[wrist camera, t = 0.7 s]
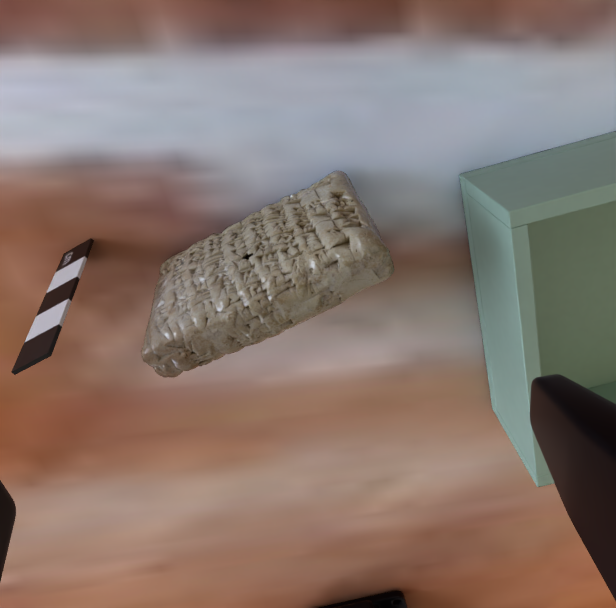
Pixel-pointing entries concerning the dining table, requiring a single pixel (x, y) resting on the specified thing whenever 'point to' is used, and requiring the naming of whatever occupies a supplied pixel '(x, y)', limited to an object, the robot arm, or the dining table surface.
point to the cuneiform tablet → (240, 280)
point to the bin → (545, 277)
